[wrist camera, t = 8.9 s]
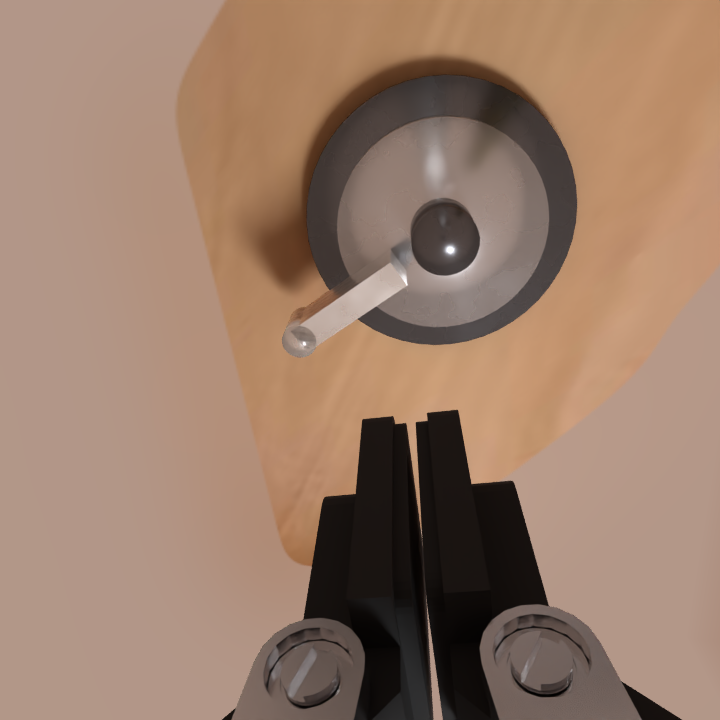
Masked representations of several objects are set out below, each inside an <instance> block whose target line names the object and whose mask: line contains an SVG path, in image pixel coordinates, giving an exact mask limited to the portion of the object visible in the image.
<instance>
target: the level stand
mask: <svg viewBox="0 0 720 720" xmlns="http://www.w3.org/2000/svg"><path fill="white" fill-rule="evenodd" d="M436 115H454V116H463V117H467V118H471V119H476V120H478V121H481V122H483V123H486V124H488V125H490V126H492V127H494V128H495V129H497V130H499V131H501V132H502V133H504V134H506V135H507V136H508V137H510V138H511V139H512V140H513V141H515V142H516V143H517V144H518V145H519V146H520V147H521V148H522V149H523V150H524V151H525V152H526V154H527V155H528V156H529V158H530V159H531V160H532V162H533V163H534V165H535V166H536V168H537V170H538V172H539V174H540V176H541V178H542V181H543V184H544V187H545V190H546V195H547V200H548V206H549V227H548V235H547V240H546V244H545V248H544V251H543V253H542V256H541V259H540V261H539V263H538V265H537V267H536V269H535V271H534V273H533V274H532V276H531V277H530V279H529V280H528V282H527V283H526V284H525V285H524V287H523V288H522V289H521V290H520V291H519V292H518V293H517V294H516V295H515V296H514V297H513V298H512V299H511V300H510V301H509V302H507V303H506V304H505V305H503V306H502V307H500V308H499V309H498V310H496V311H494V312H492V313H491V314H489V315H487V316H485V317H483V318H480V319H478V320H475V321H473V322H469V323H465V324H461V325H456V326H449V327H429V326H420V325H416V324H411V323H408V322H405V321H402V320H399V319H397V318H395V317H393V316H391V315H389V314H387V313H385V312H384V311H382V310H381V309H379V308H378V307H374V308H373V309H371V310H370V311H368V312H367V313H365V314H364V315H362V316H361V317H359V318H358V320H359V321H361V322H362V323H364V324H366V325H367V326H369V327H371V328H372V329H374V330H376V331H378V332H380V333H383V334H385V335H387V336H390V337H393V338H396V339H399V340H402V341H407V342H412V343H417V344H430V345H441V344H454V343H459V342H465V341H469V340H473V339H476V338H479V337H483V336H485V335H487V334H490V333H492V332H494V331H497V330H499V329H500V328H502V327H504V326H506V325H507V324H509V323H511V322H513V321H514V320H515V319H517V318H518V317H519V316H521V315H522V314H523V313H525V312H526V311H527V310H528V309H529V308H530V307H531V306H532V305H533V304H535V303H536V302H537V301H538V300H539V299H540V297H541V296H542V295H543V294H544V293H545V291H546V290H547V289H548V288H549V287H550V285H551V283H552V282H553V280H554V279H555V277H556V276H557V274H558V273H559V271H560V269H561V267H562V265H563V263H564V261H565V259H566V256H567V254H568V251H569V248H570V245H571V242H572V239H573V234H574V229H575V224H576V213H577V194H576V184H575V179H574V174H573V169H572V166H571V163H570V160H569V158H568V155H567V152H566V150H565V148H564V146H563V144H562V142H561V140H560V138H559V137H558V135H557V133H556V132H555V131H554V129H553V128H552V126H551V125H550V124H549V122H548V121H547V120H546V119H545V118H544V117H543V116H542V115H541V114H540V113H539V112H538V111H537V110H536V109H535V108H534V107H533V106H532V105H531V104H529V103H528V102H527V101H525V100H524V99H523V98H521V97H520V96H519V95H517V94H515V93H513V92H511V91H510V90H508V89H506V88H504V87H502V86H500V85H497V84H494V83H491V82H489V81H486V80H482V79H477V78H473V77H468V76H458V75H436V76H425V77H421V78H417V79H412V80H408V81H405V82H402V83H400V84H397V85H395V86H392V87H389V88H388V89H386V90H384V91H382V92H380V93H379V94H377V95H375V96H373V97H372V98H370V99H369V100H368V101H366V102H365V103H364V104H362V105H361V106H360V107H358V108H357V109H356V110H355V111H354V112H353V113H352V114H351V115H350V116H349V117H348V118H347V119H346V120H345V121H344V122H343V123H342V124H341V125H340V127H339V128H338V129H337V131H336V132H335V133H334V134H333V136H332V137H331V138H330V140H329V142H328V143H327V145H326V147H325V149H324V150H323V152H322V154H321V156H320V158H319V161H318V163H317V165H316V168H315V170H314V173H313V177H312V181H311V184H310V188H309V195H308V202H307V230H308V238H309V243H310V247H311V251H312V255H313V258H314V261H315V263H316V266H317V268H318V271H319V273H320V275H321V277H322V278H323V280H324V282H325V284H326V286H327V287H328V288H329V290H331V289H332V288H334V287H335V286H337V285H338V284H339V283H341V282H342V281H344V280H345V279H347V278H348V277H350V275H349V273H348V271H347V269H346V267H345V265H344V262H343V259H342V256H341V253H340V248H339V243H338V234H337V220H338V210H339V206H340V201H341V197H342V194H343V191H344V188H345V186H346V183H347V181H348V179H349V177H350V175H351V173H352V171H353V169H354V167H355V166H356V164H357V163H358V161H359V160H360V158H361V157H362V156H363V155H364V153H365V152H366V151H367V150H368V149H369V148H370V147H371V146H372V145H373V144H374V143H375V142H376V141H377V140H379V139H380V138H381V137H382V136H384V135H385V134H387V133H388V132H390V131H391V130H393V129H394V128H396V127H399V126H401V125H403V124H405V123H407V122H410V121H413V120H416V119H419V118H424V117H429V116H436Z"/></svg>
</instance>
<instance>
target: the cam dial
mask: <svg viewBox="0 0 720 720" xmlns="http://www.w3.org/2000/svg"><path fill="white" fill-rule="evenodd" d="M548 227H549V206H548V200H547V195H546V190H545V187H544V184H543V181H542V178H541V176H540V174H539V172H538V170H537V168H536V166H535V165H534V163H533V162H532V160H531V159H530V158H529V156H528V155H527V154H526V152H525V151H524V150H523V149H522V148H521V147H520V146H519V145H518V144H517V143H516V142H515V141H513V140H512V139H511V138H510V137H508V136H507V135H506V134H504V133H502V132H501V131H499V130H497V129H495V128H494V127H492V126H490V125H488V124H486V123H483V122H481V121H478V120H476V119H471V118H467V117H463V116H454V115H436V116H429V117H424V118H419V119H416V120H413V121H410V122H407V123H405V124H403V125H401V126H399V127H396V128H394V129H393V130H391V131H390V132H388V133H387V134H385V135H384V136H382V137H381V138H380V139H379V140H377V141H376V142H375V143H374V144H373V145H372V146H371V147H370V148H369V149H368V150H367V151H366V152H365V153H364V155H363V156H362V157H361V158H360V160H359V161H358V163H357V164H356V166H355V167H354V169H353V171H352V173H351V175H350V177H349V179H348V181H347V183H346V186H345V188H344V191H343V194H342V197H341V201H340V206H339V210H338V220H337V234H338V243H339V248H340V253H341V256H342V259H343V262H344V265H345V267H346V269H347V271H348V273H349V275H350V277H348V278H347V279H345V280H344V281H342V282H341V283H339V284H338V285H337V286H335V287H334V288H332V289H331V290H329V291H328V292H327V293H325V294H324V295H322V296H321V297H319V298H318V299H317V300H315V301H314V302H312V303H311V304H309V305H308V306H306V307H302V308H299V309H297V310H295V311H294V312H293V313H292V315H291V317H290V320H289V322H288V325H287V327H286V329H285V332H284V334H283V337H282V344H283V347H284V349H285V350H286V351H287V352H288V353H289V354H290V355H292V356H295V357H306V356H308V355H310V354H311V353H312V352H313V351H314V350H315V348H316V346H318V345H319V344H321V343H322V342H324V341H325V340H327V339H328V338H330V337H331V336H333V335H334V334H336V333H337V332H339V331H340V330H342V329H343V328H345V327H346V326H348V325H349V324H351V323H352V322H354V321H355V320H356V319H358V318H359V317H361V316H362V315H364V314H365V313H367V312H368V311H370V310H371V309H373V308H374V307H378V308H379V309H381V310H382V311H384V312H385V313H387V314H389V315H391V316H393V317H395V318H397V319H399V320H402V321H405V322H408V323H411V324H416V325H420V326H429V327H449V326H456V325H461V324H465V323H469V322H473V321H475V320H478V319H480V318H483V317H485V316H487V315H489V314H491V313H492V312H494V311H496V310H498V309H499V308H500V307H502V306H503V305H505V304H506V303H507V302H509V301H510V300H511V299H512V298H513V297H514V296H515V295H516V294H517V293H518V292H519V291H520V290H521V289H522V288H523V287H524V285H525V284H526V283H527V282H528V280H529V279H530V277H531V276H532V274H533V273H534V271H535V269H536V267H537V265H538V263H539V261H540V259H541V256H542V253H543V251H544V248H545V244H546V240H547V235H548Z"/></svg>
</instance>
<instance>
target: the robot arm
mask: <svg viewBox="0 0 720 720" xmlns="http://www.w3.org/2000/svg"><path fill="white" fill-rule="evenodd" d="M427 417H428V421H423V422H416V436H417V453H418V470H419V488H420V505H421V522H422V535H421V528H420V521H419V513H418V506H417V498H416V491H415V483H414V476H413V469H412V461H411V454H410V446H409V439H408V431H407V425H406V423H403V424H395V421H394V417H393V416H391V417H381V418H371V419H363V420H362V429H361V440H360V452H359V463H358V474H357V486H356V494H352V495H340V496H328V497H325V498H324V499H323V503H322V508H321V514H320V520H319V526H318V532H317V539H316V545H315V551H314V557H313V563H312V570H311V576H310V582H309V588H308V594H307V601H306V607H305V613H304V619H303V620H302V621H299V622H296V623H293V624H290V625H288V626H287V627H285V628H283V629H282V630H280V631H279V632H277V633H275V634H274V635H273V636H272V638H270V639H269V640H268V641H267V642H266V643H265V644H264V645H263V647H262V649H261V650H260V652H259V654H258V656H257V657H256V659H255V661H254V663H253V666H252V668H251V671H250V673H249V676H248V679H247V681H246V684H245V686H244V689H243V691H242V694H241V696H240V699H239V702H238V704H237V707H236V708H235V709H234V710H233V711H232V712H231V713H229V714H228V715H227V716H226V717H225V718H223V719H222V720H433V705H432V688H431V673H430V672H431V671H430V654H429V638H428V620H427V606H428V614H429V621H430V629H431V636H432V643H433V650H434V657H435V665H436V672H437V679H438V687H439V694H440V701H441V708H442V716H443V720H681V719H680V718H678V717H677V716H675V715H674V714H672V713H670V712H669V711H667V710H666V709H664V708H662V707H661V706H659V705H658V704H656V703H655V702H653V701H652V700H650V699H648V698H647V697H645V696H644V695H642V694H640V693H639V692H637V691H636V690H634V689H632V688H631V687H629V686H628V685H626V684H625V683H623V682H622V681H621V680H620V678H619V676H618V675H617V673H616V671H615V669H614V667H613V665H612V663H611V661H610V660H609V658H608V656H607V654H606V652H605V650H604V648H603V647H602V645H601V643H600V641H599V640H598V639H597V637H596V636H595V634H594V633H593V632H592V630H591V629H590V628H589V627H588V626H587V625H586V624H584V623H583V622H582V621H581V620H579V619H578V618H577V617H575V616H574V615H572V614H570V613H567V612H565V611H563V610H561V609H558V608H555V607H550V606H549V605H548V602H547V598H546V594H545V591H544V587H543V583H542V580H541V576H540V573H539V569H538V566H537V562H536V559H535V555H534V551H533V548H532V544H531V541H530V537H529V534H528V530H527V527H526V523H525V519H524V516H523V512H522V509H521V505H520V501H519V498H518V494H517V491H516V488H515V485H514V482H513V481H503V482H492V483H480V484H471V479H470V474H469V468H468V463H467V457H466V451H465V446H464V440H463V435H462V429H461V424H460V418H459V413H458V410H451V411H441V412H431V413H427ZM422 537H423V538H422ZM422 539H423V544H422ZM426 597H427V602H426Z"/></svg>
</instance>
